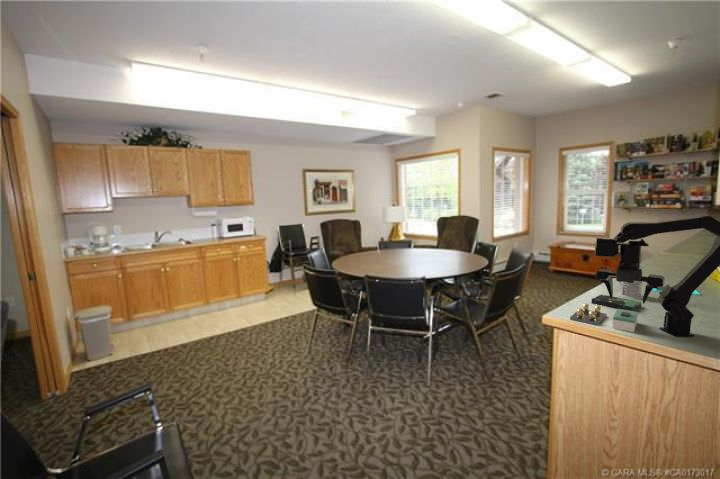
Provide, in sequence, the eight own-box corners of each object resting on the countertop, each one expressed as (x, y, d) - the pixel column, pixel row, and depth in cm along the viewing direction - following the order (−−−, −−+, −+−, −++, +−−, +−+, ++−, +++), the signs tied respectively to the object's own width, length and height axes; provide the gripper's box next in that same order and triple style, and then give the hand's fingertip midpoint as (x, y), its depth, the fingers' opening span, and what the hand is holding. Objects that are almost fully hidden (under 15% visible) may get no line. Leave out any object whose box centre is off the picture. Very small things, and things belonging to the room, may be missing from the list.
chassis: (580, 310, 138) (580, 301, 137) (606, 316, 131) (607, 306, 130) (570, 319, 129) (570, 309, 128) (597, 325, 122) (598, 315, 122)
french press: (648, 297, 152) (653, 242, 148) (632, 300, 147) (636, 245, 144) (624, 291, 161) (628, 240, 157) (609, 295, 157) (612, 242, 153)
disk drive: (590, 304, 146) (632, 313, 134) (591, 298, 146) (633, 306, 134) (600, 300, 152) (641, 307, 140) (601, 294, 152) (642, 301, 139)
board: (616, 319, 128) (617, 307, 127) (637, 323, 124) (638, 310, 123) (612, 328, 120) (613, 315, 119) (634, 333, 116) (635, 318, 115)
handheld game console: (700, 296, 151) (700, 293, 151) (654, 292, 160) (654, 289, 160) (693, 291, 160) (693, 288, 160) (649, 287, 168) (650, 284, 168)
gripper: (592, 258, 120) (590, 300, 122) (662, 265, 106) (658, 312, 108) (600, 254, 127) (598, 293, 129) (666, 259, 114) (662, 303, 116)
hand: (627, 300), depth 120 cm, fingers open, 9 cm apart
